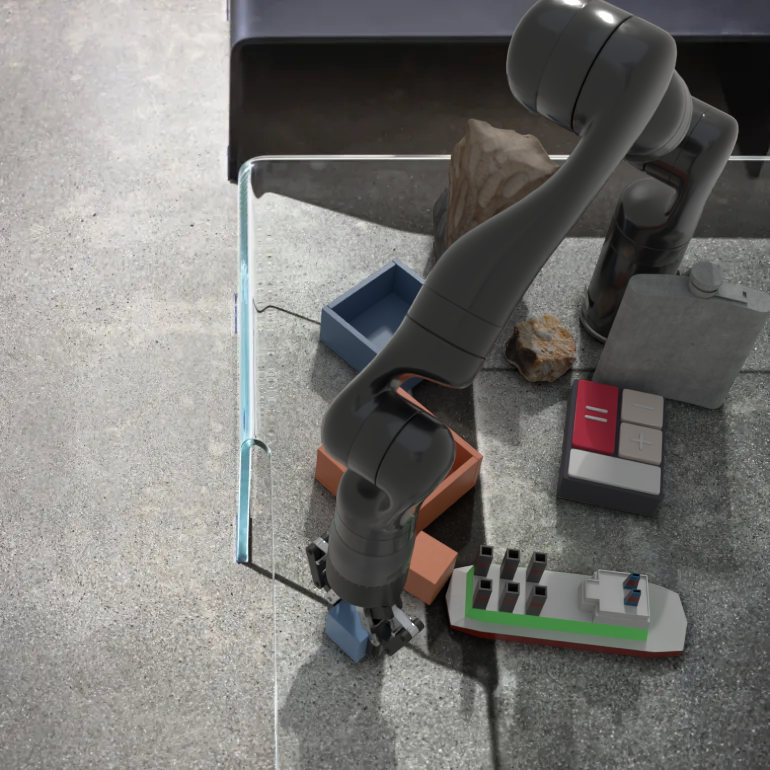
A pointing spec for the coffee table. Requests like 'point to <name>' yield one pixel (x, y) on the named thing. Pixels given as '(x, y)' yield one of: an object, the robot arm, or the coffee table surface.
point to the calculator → (613, 448)
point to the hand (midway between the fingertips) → (356, 632)
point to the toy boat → (565, 607)
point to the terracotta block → (429, 567)
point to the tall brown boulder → (487, 179)
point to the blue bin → (370, 315)
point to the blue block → (347, 630)
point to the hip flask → (682, 335)
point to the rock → (541, 348)
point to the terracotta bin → (440, 498)
